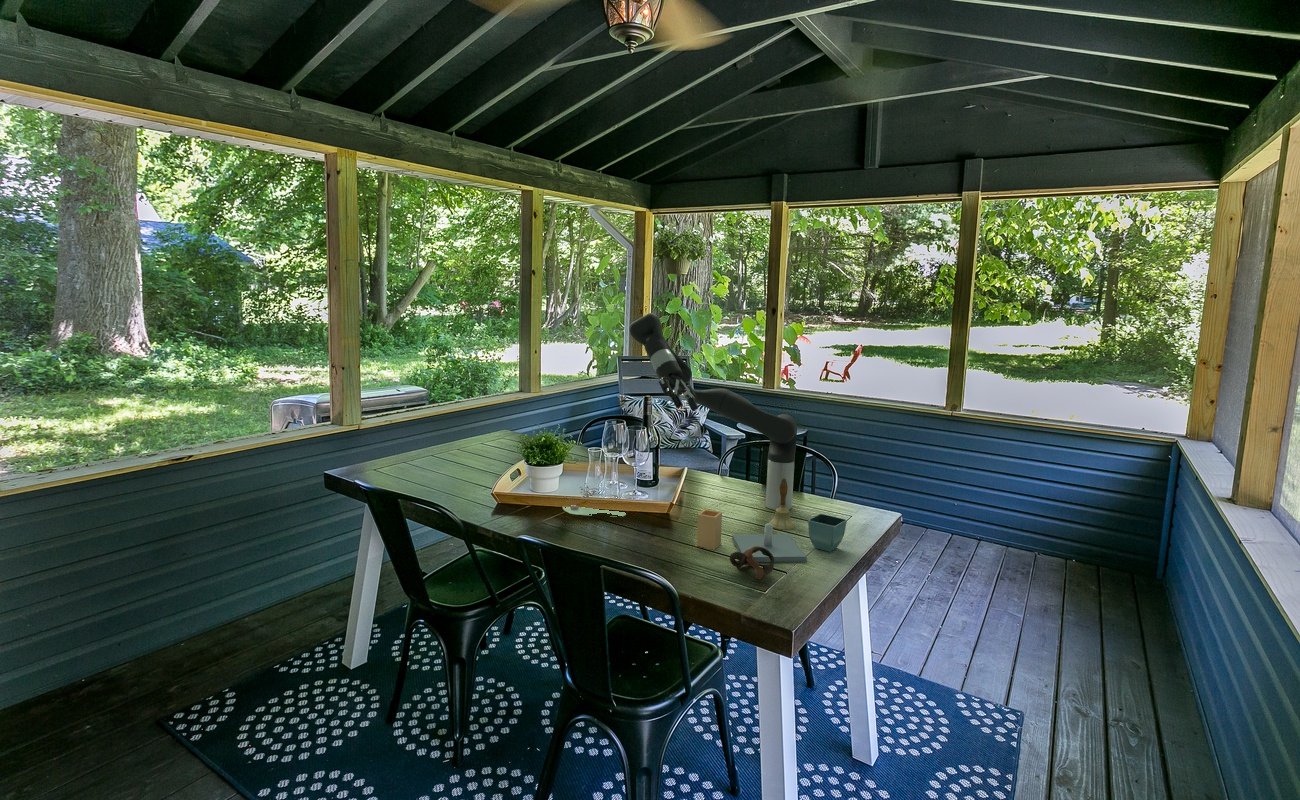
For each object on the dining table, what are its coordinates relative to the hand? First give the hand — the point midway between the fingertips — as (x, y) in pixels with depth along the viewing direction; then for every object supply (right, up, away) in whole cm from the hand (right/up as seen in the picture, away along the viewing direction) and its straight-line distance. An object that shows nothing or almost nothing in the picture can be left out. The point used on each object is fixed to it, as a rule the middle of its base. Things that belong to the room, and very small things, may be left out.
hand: (687, 408), depth 204 cm
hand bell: (+32, -39, +16) cm, 53 cm away
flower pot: (+41, -42, -4) cm, 59 cm away
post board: (+23, -42, -6) cm, 48 cm away
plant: (-30, -36, +30) cm, 56 cm away
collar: (+6, -41, -3) cm, 42 cm away
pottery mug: (+16, -45, -22) cm, 52 cm away
